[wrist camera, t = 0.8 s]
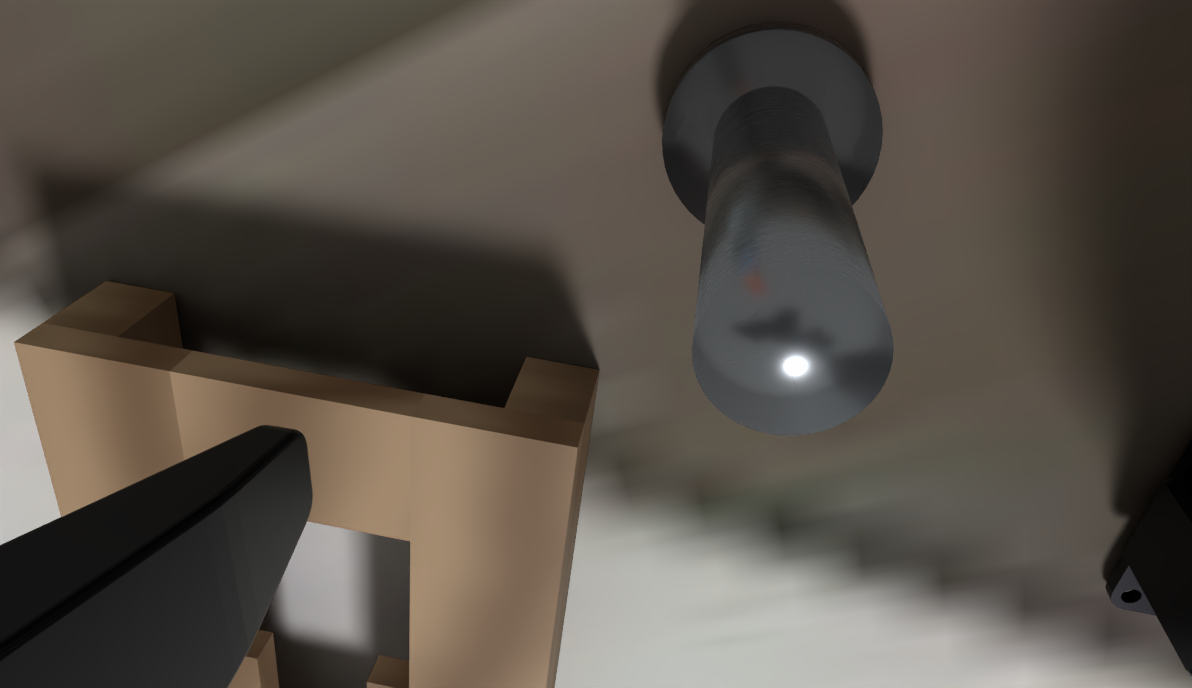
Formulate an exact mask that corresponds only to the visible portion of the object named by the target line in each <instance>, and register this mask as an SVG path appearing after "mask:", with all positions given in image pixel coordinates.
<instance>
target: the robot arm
mask: <svg viewBox="0 0 1192 688" xmlns="http://www.w3.org/2000/svg"><path fill="white" fill-rule="evenodd" d="M312 501H313V490H312V482H311V473H310V465H309V456H308V448H307V442H306V439H305V437H304V435H303V434H302V433H301V432H300V431H298V430H296V429H290V428H284V427H278V426H272V425H261V426H258V427H255V428H253V429H251V430H249V431H247V432H244V433H242V434H240V435H238V436H236V437H234V438H231V439H229V440H227V441H225V442H223V443H221V444H218V445H216V446H214V447H212V448H210V449H208V450H205V451H203V452H201V453H199V454H197V455H195V456H192V457H190V458H188V459H186V460H184V461H182V462H179V463H177V464H175V465H173V466H171V467H169V468H166V469H164V470H162V471H160V472H158V473H156V474H153V475H151V476H149V477H147V478H145V479H143V480H140V481H138V482H136V483H134V484H132V485H130V486H128V487H125V488H123V489H121V490H119V491H117V492H115V493H112V494H110V495H108V496H106V497H104V498H102V499H99V500H97V501H95V502H93V503H91V504H89V505H86V506H84V507H82V508H80V509H78V510H76V511H73V512H71V513H69V514H67V515H65V516H63V517H60V518H58V519H56V520H54V521H52V522H50V523H47V524H45V525H43V526H41V527H39V528H37V529H34V530H32V531H30V532H28V533H26V534H24V535H21V536H19V537H17V538H15V539H13V540H11V541H8V542H6V543H4V544H2V545H0V688H228V687H229V685H230V683H231V681H232V680H233V678H234V676H235V675H236V673H237V671H238V669H239V667H240V666H241V664H242V662H243V660H244V658H245V656H246V655H247V653H248V651H249V649H250V647H251V645H252V643H253V641H254V639H255V637H256V634H257V632H258V630H259V628H260V626H261V624H262V621H263V619H264V617H265V615H266V612H267V610H268V608H269V606H270V603H271V601H272V599H273V597H274V594H275V592H276V590H277V588H278V585H279V583H280V581H281V579H282V576H283V574H284V572H285V570H286V567H287V565H288V563H289V561H290V558H291V556H292V554H293V552H294V549H295V547H296V545H297V543H298V540H299V538H300V536H301V534H302V531H303V529H304V527H305V525H306V522H307V520H308V518H309V515H310V511H311V507H312ZM1127 590H1132V591H1129V592H1125V591H1127ZM1106 591H1107V593H1108V595H1109V597H1110V599H1111V601H1112V603H1113V604H1114V605H1115V606H1116V607H1119V608H1122V609H1125V610H1130V611H1136V612H1141V613H1146V614H1151V615H1156V616H1157V618H1158V620H1159V621H1160V623H1161V625H1162V627H1163V629H1164V630H1165V632H1166V634H1167V636H1168V638H1169V640H1170V641H1171V643H1172V645H1173V647H1174V649H1175V651H1176V652H1177V654H1178V656H1179V658H1180V660H1181V661H1182V663H1183V665H1184V667H1185V669H1186V670H1187V672H1188V674H1189V675H1190V677H1191V678H1192V440H1191V442H1190V443H1189V445H1188V447H1187V448H1186V450H1185V452H1184V453H1183V455H1182V457H1181V458H1180V460H1179V462H1178V463H1177V465H1176V467H1175V468H1174V470H1173V472H1172V473H1171V475H1170V477H1169V479H1168V480H1167V482H1165V483H1164V484H1163V485H1162V487H1161V488H1160V490H1159V492H1158V493H1157V495H1156V497H1155V498H1154V500H1153V502H1152V503H1151V505H1150V507H1149V509H1148V510H1147V512H1146V514H1145V515H1144V517H1143V519H1142V520H1141V522H1140V524H1139V525H1138V527H1137V529H1136V530H1135V532H1134V534H1133V536H1132V537H1131V539H1130V541H1129V542H1128V544H1127V546H1126V547H1125V549H1124V551H1123V556H1122V558H1121V559H1120V561H1119V563H1118V564H1117V566H1116V568H1115V569H1114V571H1113V573H1112V574H1111V576H1110V578H1109V579H1108V581H1107V584H1106Z"/></svg>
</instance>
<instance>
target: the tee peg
mask: <svg viewBox="0 0 1192 688" xmlns="http://www.w3.org/2000/svg"><path fill="white" fill-rule="evenodd" d="M882 134H883V130H882V116H881V111H880V106H879V102H878V100H877V97H876V94H875V91H874V89H873V87H872V85H871V83H870V81H869V79H868V78H867V76H866V74H865V72H864V71H863V69H862V67H861V66H860V65H859V63H858V62H857V60H856V59H855V58H854V56H853V55H852V54H851V53H850V52H849V51H848V50H847V49H846V48H845V47H844V46H843V45H841V44H840V43H839V42H837V41H836V40H835V39H833V38H832V37H830V36H828V35H826V34H824V33H823V32H821V31H818V30H816V29H813V28H810V27H808V26H804V25H799V24H795V23H786V22H767V23H760V24H754V25H749V26H746V27H743V28H740V29H737V30H735V31H733V32H730V33H728V34H726V35H724V36H722V37H721V38H719V39H718V40H716V41H715V42H713V43H712V44H710V45H709V46H708V47H706V48H705V49H704V50H703V51H702V52H701V53H699V54H698V56H697V57H696V58H695V59H694V60H693V61H692V62H691V63H690V64H689V66H688V67H687V69H686V70H685V71H684V73H683V74H682V76H681V78H680V80H679V81H678V83H677V85H676V87H675V89H674V92H673V95H672V97H671V100H670V103H669V107H668V110H667V113H666V118H665V122H664V127H663V138H662V147H663V158H664V164H665V168H666V171H667V175H668V178H669V180H670V183H671V185H672V187H673V189H674V191H675V193H676V194H677V196H678V197H679V199H680V200H681V202H682V203H683V204H684V206H685V207H686V208H687V209H688V210H689V212H690V213H691V214H693V215H694V216H695V217H696V218H697V219H698V220H699V221H701V222H702V223H703V224H705V228H704V238H703V247H702V257H701V267H700V277H699V286H698V296H697V306H696V316H695V326H694V335H693V345H692V361H693V366H694V371H695V374H696V377H697V380H698V382H699V384H700V386H701V388H702V390H703V392H704V393H705V395H706V396H707V397H708V399H709V400H710V401H711V402H712V403H713V404H714V406H715V407H716V408H717V409H719V410H720V411H721V412H722V413H723V414H725V415H726V416H727V417H729V418H730V419H732V420H734V421H735V422H737V423H739V424H741V425H743V426H745V427H748V428H751V429H753V430H756V431H760V432H764V433H768V434H775V435H791V436H794V435H806V434H812V433H817V432H821V431H824V430H827V429H831V428H833V427H835V426H838V425H840V424H842V423H844V422H846V421H848V420H849V419H851V418H853V417H854V416H856V415H857V414H858V413H860V412H861V411H862V410H863V409H864V408H866V407H867V406H868V405H869V404H870V403H871V402H872V401H873V399H874V398H875V397H876V396H877V394H878V393H879V392H880V390H881V388H882V387H883V385H884V384H885V381H886V379H887V377H888V374H889V372H890V368H891V364H892V359H893V337H892V333H891V328H890V325H889V322H888V318H887V315H886V312H885V309H884V306H883V303H882V299H881V296H880V293H879V290H878V287H877V284H876V281H875V277H874V274H873V271H872V268H871V265H870V262H869V258H868V255H867V252H866V249H865V246H864V243H863V239H862V236H861V233H860V230H859V227H858V224H857V220H856V217H855V214H854V211H853V208H852V205H853V204H854V203H855V202H856V201H857V200H858V199H859V197H860V196H861V194H862V193H863V191H864V190H865V188H866V187H867V185H868V183H869V181H870V179H871V178H872V176H873V174H874V171H875V168H876V165H877V163H878V160H879V155H880V151H881V145H882Z"/></svg>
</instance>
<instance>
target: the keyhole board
mask: <svg viewBox="0 0 1192 688" xmlns="http://www.w3.org/2000/svg"><path fill="white" fill-rule="evenodd" d="M14 344H15V348H16V352H17V355H18V359H19V363H20V366H21V370H22V374H23V377H24V381H25V385H26V388H27V392H28V396H29V400H30V403H31V407H32V411H33V414H34V418H35V422H36V425H37V429H38V433H39V436H40V440H41V444H42V447H43V451H44V455H45V458H46V462H47V466H48V470H49V473H50V477H51V481H52V484H53V488H54V492H55V495H56V499H57V503H58V506H59V510H60V514H61V517H63V516H65V515H67V514H69V513H71V512H73V511H76V510H78V509H80V508H82V507H84V506H86V505H89V504H91V503H93V502H95V501H97V500H99V499H102V498H104V497H106V496H108V495H110V494H112V493H115V492H117V491H119V490H121V489H123V488H125V487H128V486H130V485H132V484H134V483H136V482H138V481H140V480H143V479H145V478H147V477H149V476H151V475H153V474H156V473H158V472H160V471H162V470H164V469H166V468H169V467H171V466H173V465H175V464H177V463H179V462H182V461H184V460H186V459H188V458H190V457H192V456H195V455H197V454H199V453H201V452H203V451H205V450H208V449H210V448H212V447H214V446H216V445H218V444H221V443H223V442H225V441H227V440H229V439H231V438H234V437H236V436H238V435H240V434H242V433H244V432H247V431H249V430H251V429H253V428H255V427H258V426H261V425H272V426H278V427H284V428H290V429H296V430H298V431H300V432H301V433H302V434H303V435H304V437H305V439H306V442H307V448H308V456H309V465H310V473H311V482H312V490H313V501H312V507H311V511H310V515H309V518H308V520H307V521H309V522H314V523H319V524H324V525H329V526H334V527H340V528H345V529H350V530H355V531H360V532H365V533H370V534H375V535H380V536H385V537H390V538H395V539H400V540H405V541H410V638H409V661H407V660H402V659H397V658H392V657H388V656H383V655H379V656H378V658H377V660H376V663H375V665H374V667H373V669H372V671H371V674H370V676H369V678H368V680H367V688H554V687H555V680H556V673H557V666H558V659H559V652H560V644H561V637H562V630H563V623H564V616H565V609H566V602H567V595H568V588H569V581H570V574H571V567H572V560H573V553H574V546H575V539H576V532H577V525H578V518H579V511H580V503H581V496H582V489H583V482H584V475H585V468H586V461H587V454H588V447H589V440H590V433H591V426H592V419H593V412H594V405H595V398H596V391H597V384H598V377H599V370H598V369H592V368H587V367H581V366H575V365H570V364H564V363H559V362H553V361H548V360H542V359H537V358H531V357H526V359H525V361H524V364H523V366H522V368H521V371H520V373H519V375H518V377H517V380H516V382H515V384H514V387H513V389H512V391H511V394H510V396H509V398H508V401H507V403H506V405H505V408H500V407H495V406H489V405H484V404H478V403H473V402H468V401H462V400H457V399H451V398H446V397H441V396H435V395H430V394H424V393H419V392H414V391H408V390H403V389H397V388H392V387H386V386H381V385H376V384H370V383H365V382H359V381H354V380H349V379H343V378H338V377H332V376H327V375H322V374H316V373H311V372H305V371H300V370H295V369H289V368H284V367H278V366H273V365H268V364H262V363H257V362H251V361H246V360H241V359H235V358H230V357H224V356H219V355H214V354H208V353H203V352H197V351H192V350H186V349H183V346H182V339H181V333H180V326H179V320H178V313H177V307H176V300H175V294H174V293H171V292H165V291H160V290H154V289H149V288H143V287H138V286H132V285H126V284H121V283H115V282H110V281H105V282H104V283H102V284H101V285H99V286H98V287H96V288H95V289H93V290H92V291H90V292H89V293H87V294H86V295H84V296H83V297H81V298H80V299H78V300H77V301H75V302H74V303H72V304H71V305H69V306H68V307H66V308H65V309H63V310H62V311H60V312H59V313H57V314H56V315H54V316H53V317H51V318H50V319H48V320H47V321H45V322H44V323H42V324H41V325H39V326H38V327H36V328H35V329H33V330H32V331H30V332H29V333H27V334H26V335H24V336H23V337H21V338H20V339H18V340H17V341H15V342H14ZM228 688H279V681H278V672H277V664H276V655H275V646H274V637H273V633H272V632H267V631H262V630H258V632H257V634H256V637H255V639H254V641H253V643H252V645H251V647H250V649H249V651H248V653H247V655H246V656H245V658H244V660H243V662H242V664H241V666H240V667H239V669H238V671H237V673H236V675H235V676H234V678H233V680H232V681H231V683H230V685H229V687H228Z"/></svg>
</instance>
